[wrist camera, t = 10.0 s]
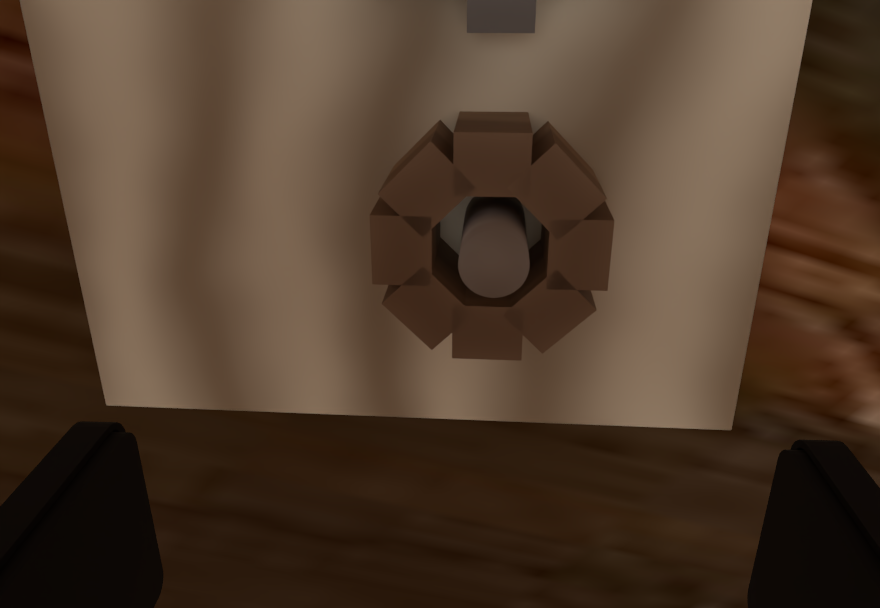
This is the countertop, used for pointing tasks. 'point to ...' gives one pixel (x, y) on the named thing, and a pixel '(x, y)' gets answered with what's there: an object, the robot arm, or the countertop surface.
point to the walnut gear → (436, 264)
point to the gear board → (366, 169)
